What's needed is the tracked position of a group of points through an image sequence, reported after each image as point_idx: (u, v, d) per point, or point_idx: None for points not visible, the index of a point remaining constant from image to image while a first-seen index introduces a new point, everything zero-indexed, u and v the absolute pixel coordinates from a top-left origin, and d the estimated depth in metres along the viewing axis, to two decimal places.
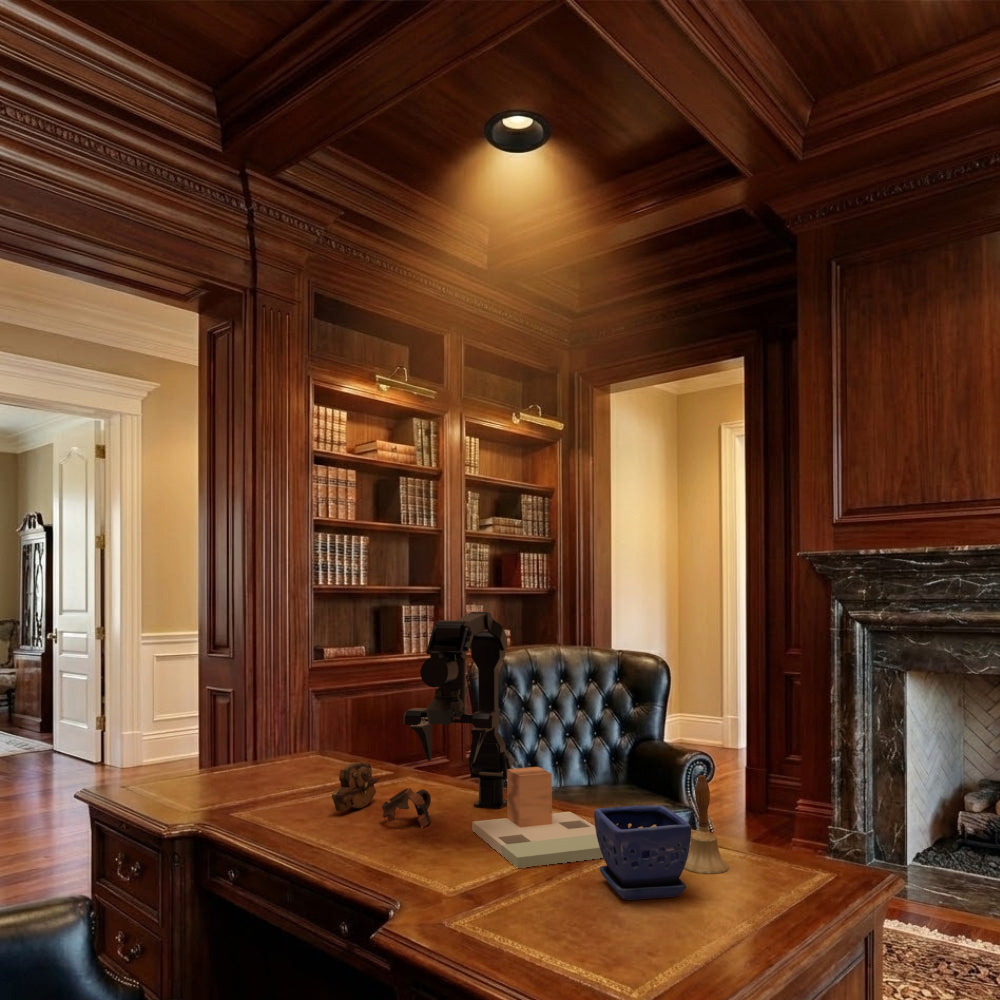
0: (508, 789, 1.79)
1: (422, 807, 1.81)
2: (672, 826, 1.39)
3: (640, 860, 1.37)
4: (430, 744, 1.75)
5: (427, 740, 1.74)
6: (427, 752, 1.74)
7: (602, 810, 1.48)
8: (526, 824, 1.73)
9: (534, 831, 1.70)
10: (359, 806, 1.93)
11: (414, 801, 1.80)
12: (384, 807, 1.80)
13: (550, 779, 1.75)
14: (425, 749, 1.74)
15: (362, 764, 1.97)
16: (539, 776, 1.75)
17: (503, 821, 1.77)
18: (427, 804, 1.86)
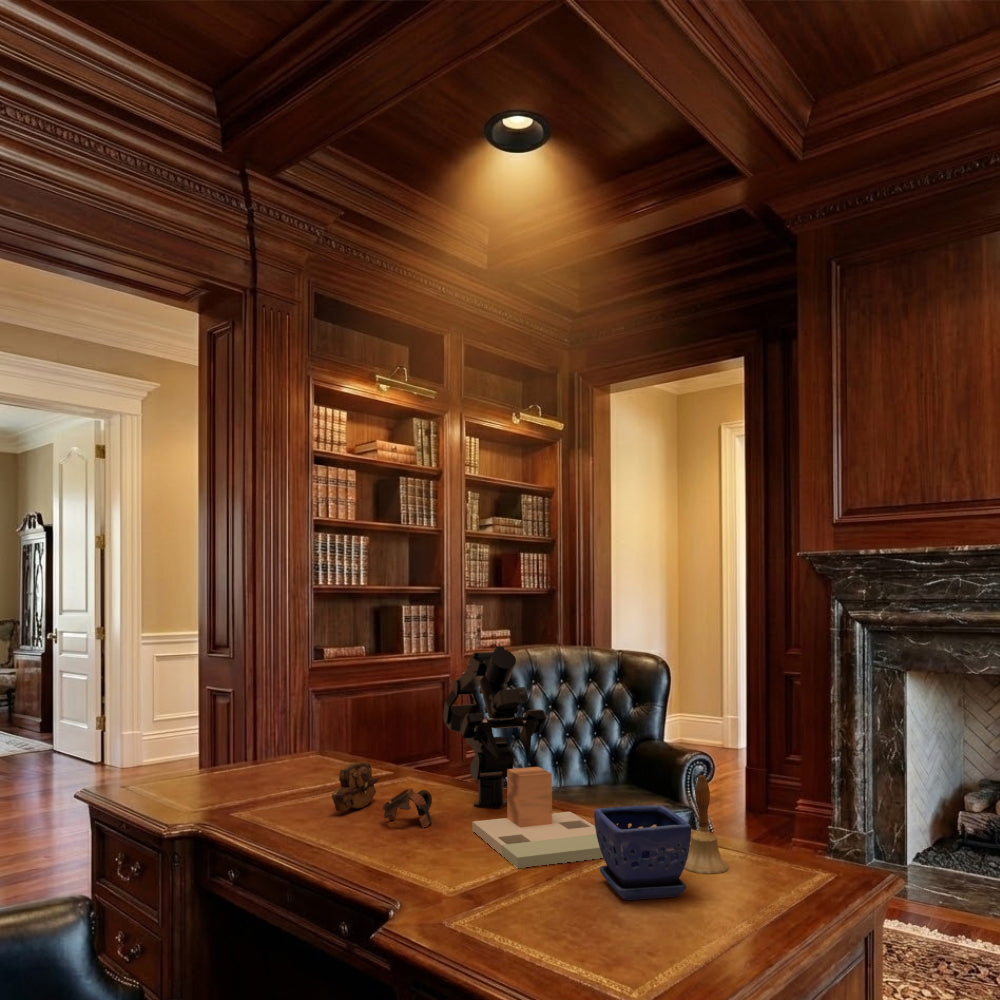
0: (508, 789, 1.79)
1: (423, 807, 1.80)
2: (672, 826, 1.39)
3: (640, 860, 1.37)
4: None
5: None
6: (496, 747, 1.85)
7: (602, 810, 1.48)
8: (526, 824, 1.73)
9: (534, 831, 1.70)
10: (359, 806, 1.93)
11: (415, 801, 1.80)
12: (385, 807, 1.80)
13: (550, 779, 1.75)
14: (494, 745, 1.86)
15: (362, 764, 1.97)
16: (539, 776, 1.75)
17: (503, 821, 1.77)
18: (428, 804, 1.86)
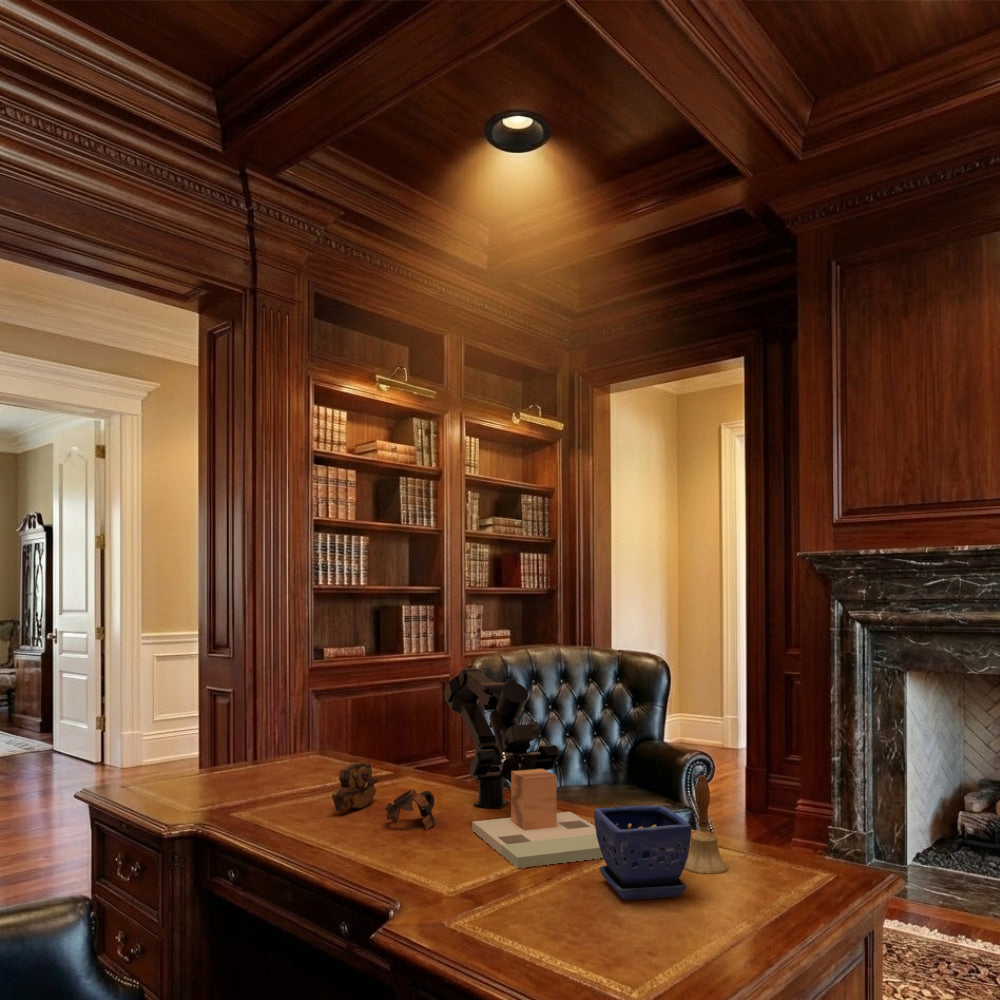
0: (512, 791, 1.77)
1: (426, 808, 1.80)
2: (672, 826, 1.39)
3: (640, 860, 1.37)
4: None
5: None
6: None
7: (602, 810, 1.48)
8: (530, 827, 1.71)
9: (534, 831, 1.70)
10: (359, 806, 1.93)
11: (418, 802, 1.79)
12: (388, 809, 1.79)
13: (554, 781, 1.73)
14: None
15: (362, 764, 1.97)
16: (543, 778, 1.73)
17: (503, 821, 1.77)
18: (431, 805, 1.85)
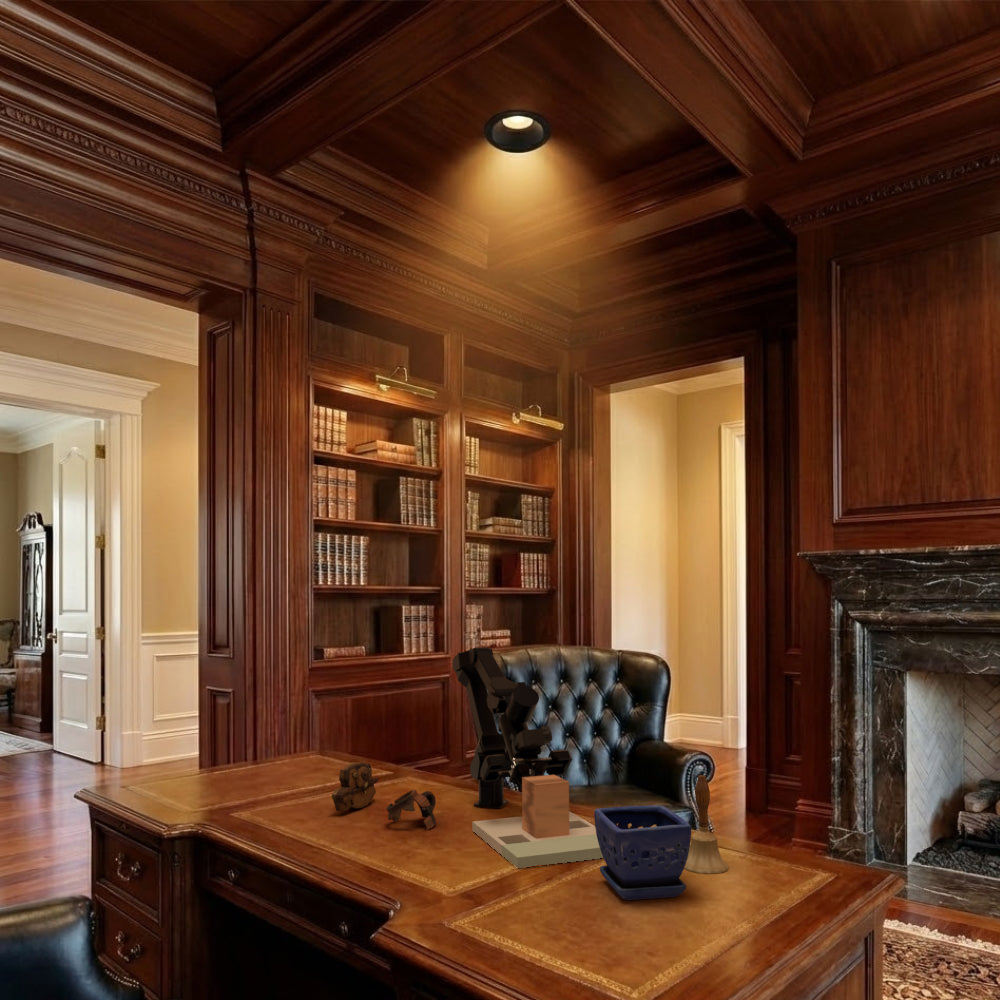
0: (523, 798, 1.71)
1: (428, 809, 1.79)
2: (672, 826, 1.39)
3: (640, 860, 1.37)
4: None
5: None
6: None
7: (602, 810, 1.48)
8: (542, 835, 1.65)
9: None
10: (359, 806, 1.93)
11: (420, 803, 1.79)
12: (389, 809, 1.79)
13: (567, 787, 1.68)
14: None
15: (362, 764, 1.97)
16: (556, 785, 1.67)
17: (503, 821, 1.77)
18: (432, 806, 1.85)
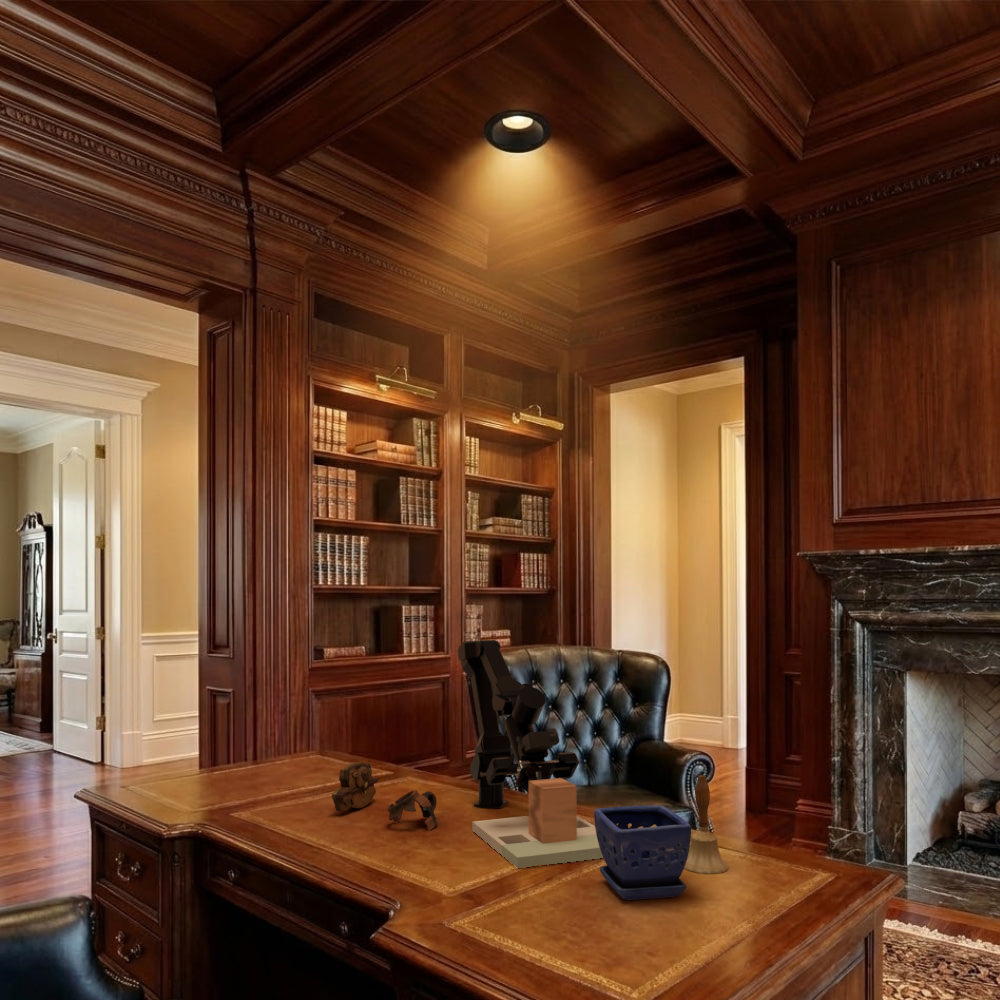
0: (529, 802, 1.68)
1: (429, 809, 1.79)
2: (672, 826, 1.39)
3: (640, 860, 1.37)
4: None
5: None
6: None
7: (602, 810, 1.48)
8: (549, 840, 1.62)
9: None
10: (359, 806, 1.93)
11: (421, 803, 1.78)
12: (390, 810, 1.78)
13: (574, 792, 1.65)
14: None
15: (362, 764, 1.97)
16: (563, 789, 1.64)
17: (503, 821, 1.77)
18: (433, 806, 1.85)
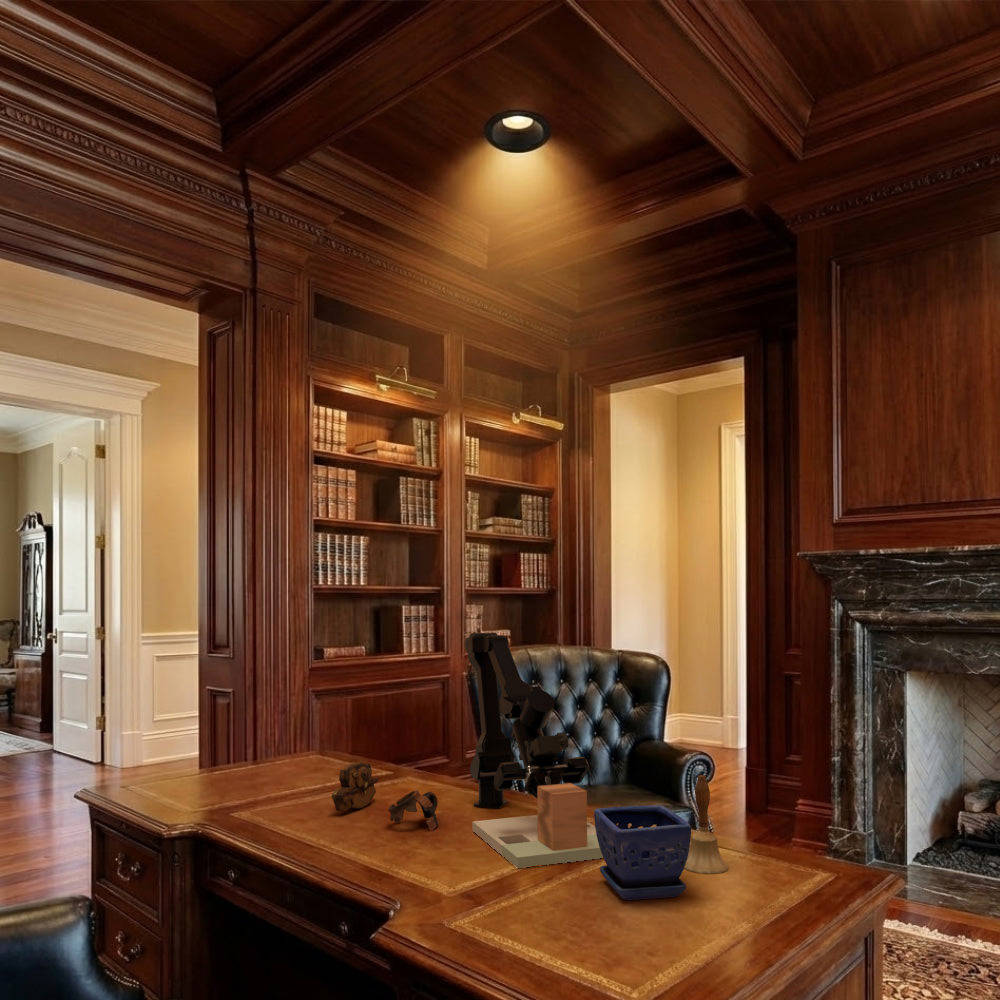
0: (538, 808, 1.64)
1: (430, 810, 1.79)
2: (672, 826, 1.39)
3: (640, 860, 1.37)
4: None
5: None
6: None
7: (602, 810, 1.48)
8: (559, 847, 1.58)
9: (534, 831, 1.70)
10: (359, 806, 1.93)
11: (422, 804, 1.78)
12: (392, 810, 1.78)
13: (585, 797, 1.60)
14: None
15: (362, 764, 1.97)
16: (573, 794, 1.60)
17: (503, 821, 1.77)
18: (434, 807, 1.84)
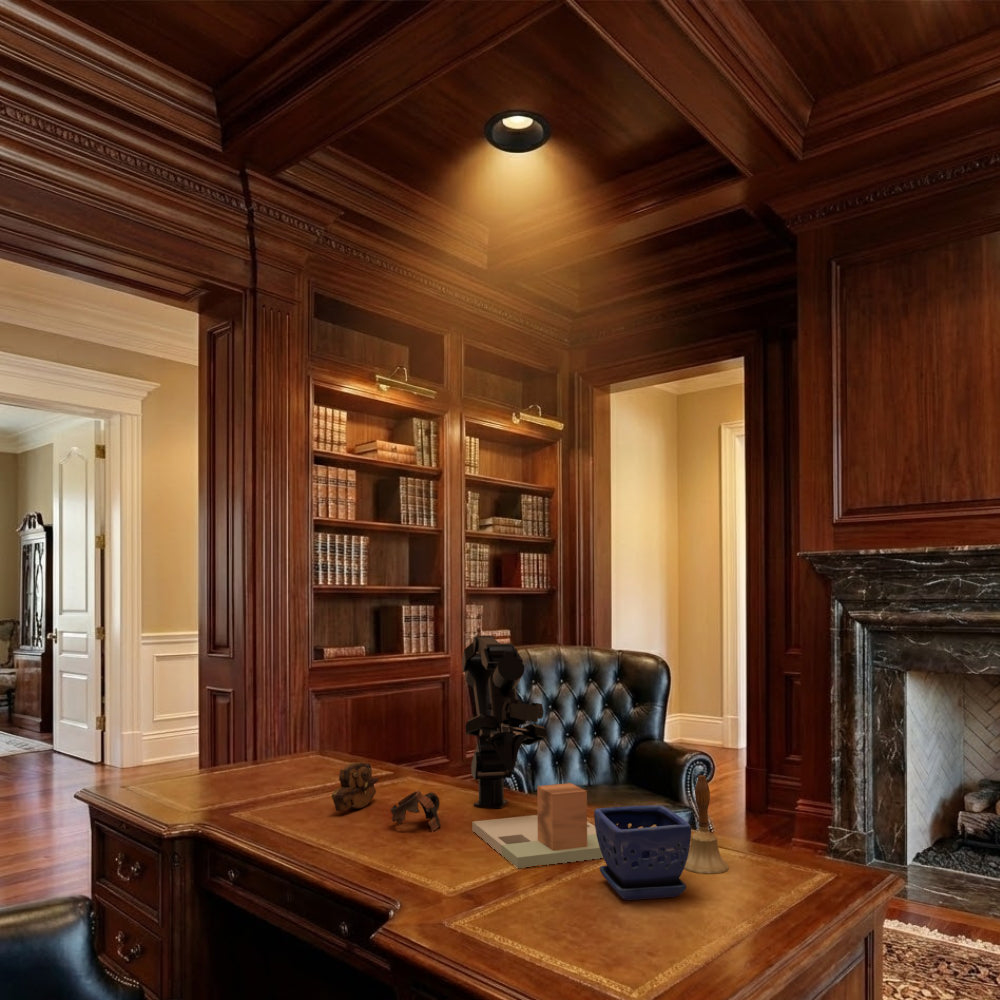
0: (538, 808, 1.64)
1: (432, 810, 1.78)
2: (672, 826, 1.39)
3: (640, 860, 1.37)
4: None
5: None
6: (511, 760, 1.79)
7: (602, 810, 1.48)
8: (559, 847, 1.58)
9: (534, 831, 1.70)
10: (359, 806, 1.93)
11: (424, 804, 1.78)
12: (394, 811, 1.77)
13: (585, 797, 1.60)
14: (510, 757, 1.79)
15: (362, 764, 1.97)
16: (573, 794, 1.60)
17: (503, 821, 1.77)
18: (436, 807, 1.84)
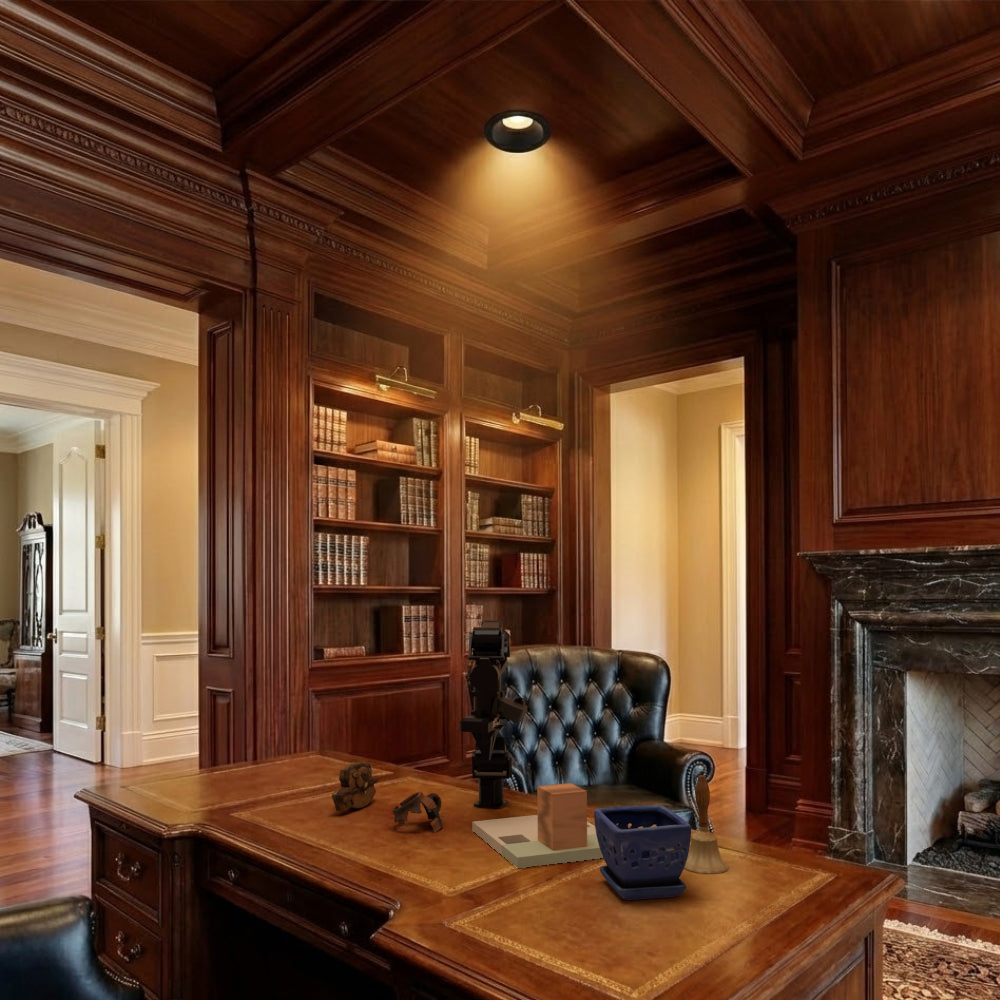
0: (538, 808, 1.64)
1: (434, 811, 1.78)
2: (672, 826, 1.39)
3: (640, 860, 1.37)
4: None
5: None
6: (490, 752, 1.83)
7: (602, 810, 1.48)
8: (559, 847, 1.58)
9: (534, 831, 1.70)
10: (359, 806, 1.93)
11: (427, 805, 1.77)
12: (396, 811, 1.77)
13: (585, 797, 1.60)
14: (490, 750, 1.83)
15: (362, 764, 1.97)
16: (573, 794, 1.60)
17: (503, 821, 1.77)
18: (438, 808, 1.83)
